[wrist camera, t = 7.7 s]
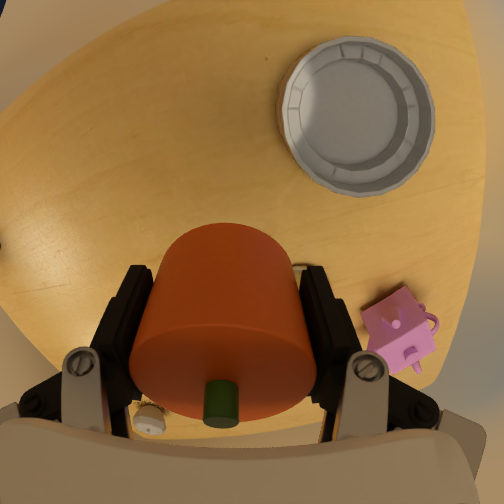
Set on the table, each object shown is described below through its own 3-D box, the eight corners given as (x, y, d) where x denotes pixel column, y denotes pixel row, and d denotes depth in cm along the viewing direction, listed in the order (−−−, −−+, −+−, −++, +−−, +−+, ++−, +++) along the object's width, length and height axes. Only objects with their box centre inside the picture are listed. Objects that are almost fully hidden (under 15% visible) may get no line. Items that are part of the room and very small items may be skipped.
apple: (138, 396, 53) (133, 422, 48) (172, 407, 55) (169, 432, 50) (133, 408, 57) (128, 431, 51) (164, 418, 59) (161, 441, 53)
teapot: (325, 302, 39) (343, 357, 31) (405, 253, 35) (440, 300, 27) (367, 355, 47) (383, 399, 39) (429, 319, 43) (452, 360, 35)
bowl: (320, 16, 20) (335, 5, 16) (429, 99, 24) (456, 105, 20) (248, 137, 27) (249, 147, 23) (364, 202, 31) (382, 222, 27)
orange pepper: (189, 197, 10) (140, 333, 5) (319, 258, 11) (368, 393, 6) (145, 301, 12) (109, 424, 7) (252, 340, 14) (259, 457, 9)
